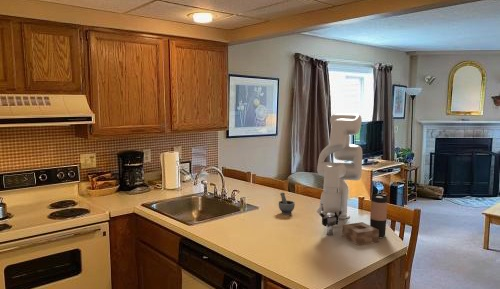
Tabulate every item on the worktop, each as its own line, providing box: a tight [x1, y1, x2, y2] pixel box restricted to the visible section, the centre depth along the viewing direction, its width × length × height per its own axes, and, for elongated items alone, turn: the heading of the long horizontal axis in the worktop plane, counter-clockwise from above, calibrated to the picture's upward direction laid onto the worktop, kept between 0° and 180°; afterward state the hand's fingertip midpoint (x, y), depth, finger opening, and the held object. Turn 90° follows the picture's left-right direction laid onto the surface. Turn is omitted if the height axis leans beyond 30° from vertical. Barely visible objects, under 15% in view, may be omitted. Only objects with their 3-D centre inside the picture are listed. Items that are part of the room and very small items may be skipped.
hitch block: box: [341, 221, 380, 246], centre depth 175 cm, size 12×12×6 cm
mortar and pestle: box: [278, 192, 296, 216], centre depth 216 cm, size 11×9×12 cm
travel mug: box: [369, 193, 388, 238], centre depth 180 cm, size 8×8×20 cm
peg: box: [325, 214, 337, 236], centre depth 182 cm, size 6×6×9 cm
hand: (330, 224), depth 182 cm, fingers closed on peg, 6 cm apart
